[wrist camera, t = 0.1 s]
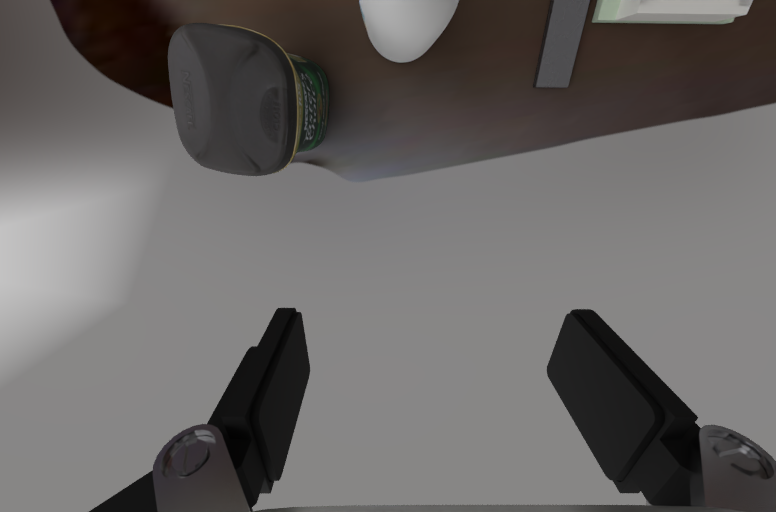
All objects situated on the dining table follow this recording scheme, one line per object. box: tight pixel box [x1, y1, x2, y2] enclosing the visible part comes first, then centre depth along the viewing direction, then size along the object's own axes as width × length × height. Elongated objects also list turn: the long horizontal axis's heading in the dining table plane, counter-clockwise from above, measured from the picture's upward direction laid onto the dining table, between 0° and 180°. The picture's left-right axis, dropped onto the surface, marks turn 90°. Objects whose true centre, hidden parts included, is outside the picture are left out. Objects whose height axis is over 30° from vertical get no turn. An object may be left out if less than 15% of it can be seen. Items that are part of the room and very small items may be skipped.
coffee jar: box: [168, 23, 329, 176], centre depth 27 cm, size 10×8×19 cm
